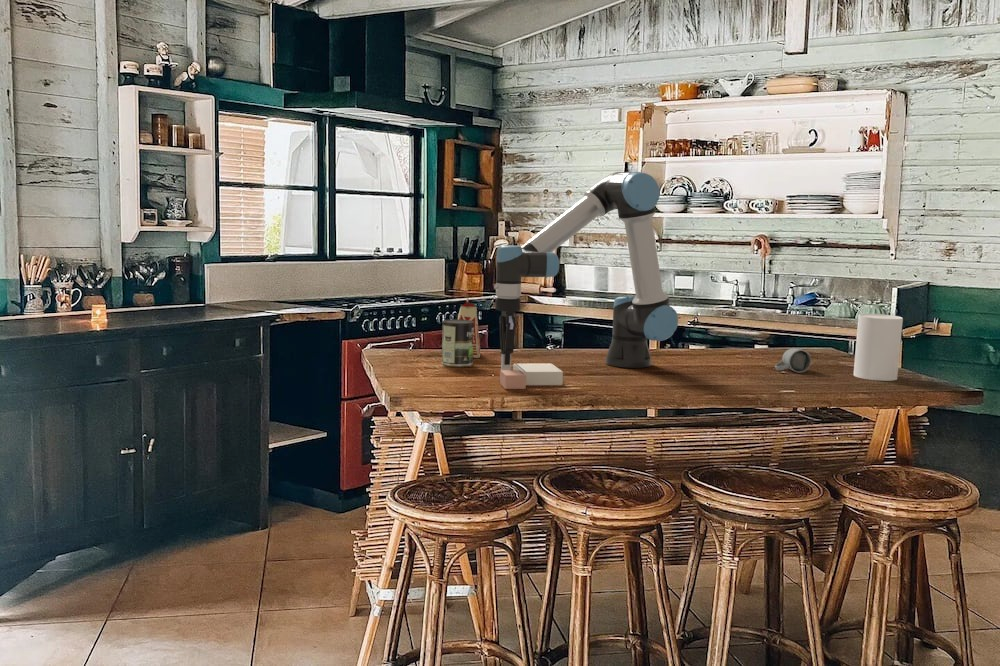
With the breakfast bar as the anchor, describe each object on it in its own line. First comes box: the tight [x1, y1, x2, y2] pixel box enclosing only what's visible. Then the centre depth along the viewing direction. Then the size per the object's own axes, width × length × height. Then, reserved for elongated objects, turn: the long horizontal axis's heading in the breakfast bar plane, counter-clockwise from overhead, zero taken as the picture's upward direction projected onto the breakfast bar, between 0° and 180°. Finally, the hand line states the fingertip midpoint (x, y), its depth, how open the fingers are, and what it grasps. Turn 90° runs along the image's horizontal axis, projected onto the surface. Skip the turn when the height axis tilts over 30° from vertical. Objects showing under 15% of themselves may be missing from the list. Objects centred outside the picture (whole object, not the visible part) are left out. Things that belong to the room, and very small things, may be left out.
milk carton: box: [457, 298, 481, 359], centre depth 338 cm, size 9×9×20 cm
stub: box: [499, 369, 527, 390], centre depth 287 cm, size 6×8×4 cm
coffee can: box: [441, 318, 474, 367], centre depth 321 cm, size 10×10×14 cm
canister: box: [853, 313, 904, 382], centre depth 322 cm, size 14×14×20 cm
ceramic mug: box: [774, 347, 812, 374], centre depth 329 cm, size 11×8×8 cm
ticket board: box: [512, 362, 564, 386], centre depth 297 cm, size 12×14×4 cm
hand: (505, 374), depth 298 cm, fingers closed
